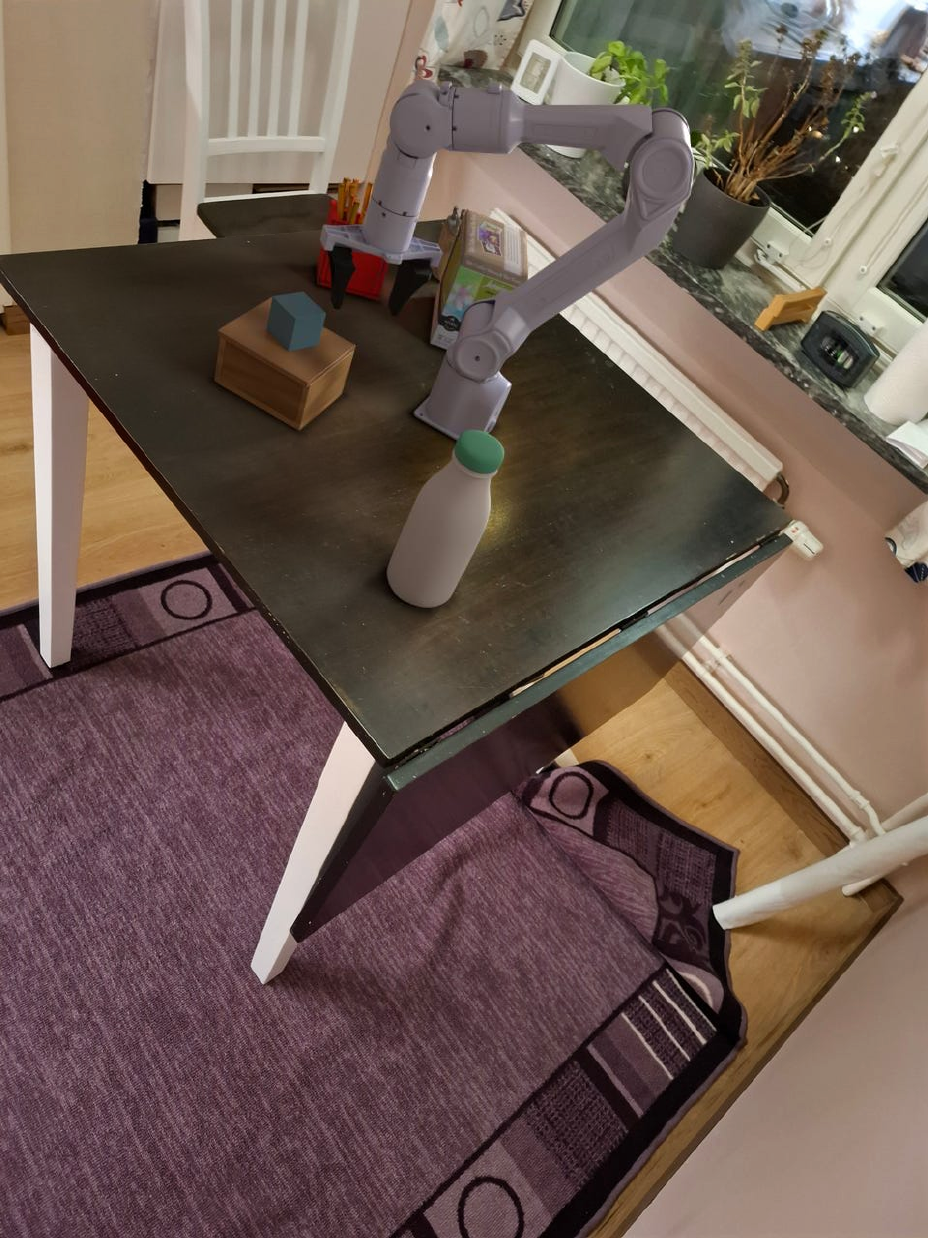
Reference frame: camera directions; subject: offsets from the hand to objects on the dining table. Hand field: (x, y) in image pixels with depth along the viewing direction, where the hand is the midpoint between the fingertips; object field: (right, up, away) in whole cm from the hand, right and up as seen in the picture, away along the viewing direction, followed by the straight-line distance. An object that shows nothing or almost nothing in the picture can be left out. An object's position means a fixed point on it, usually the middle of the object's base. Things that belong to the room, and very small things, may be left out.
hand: (364, 308), depth 102 cm
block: (-8, -5, -4) cm, 10 cm away
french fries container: (-5, +12, +23) cm, 26 cm away
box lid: (-9, -6, -4) cm, 11 cm away
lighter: (+8, +19, +35) cm, 41 cm away
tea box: (+12, +6, +26) cm, 29 cm away
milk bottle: (+7, -35, -11) cm, 37 cm away
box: (-11, -9, +1) cm, 14 cm away
